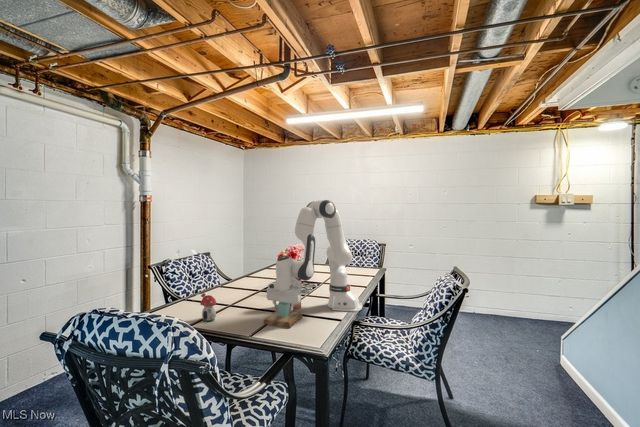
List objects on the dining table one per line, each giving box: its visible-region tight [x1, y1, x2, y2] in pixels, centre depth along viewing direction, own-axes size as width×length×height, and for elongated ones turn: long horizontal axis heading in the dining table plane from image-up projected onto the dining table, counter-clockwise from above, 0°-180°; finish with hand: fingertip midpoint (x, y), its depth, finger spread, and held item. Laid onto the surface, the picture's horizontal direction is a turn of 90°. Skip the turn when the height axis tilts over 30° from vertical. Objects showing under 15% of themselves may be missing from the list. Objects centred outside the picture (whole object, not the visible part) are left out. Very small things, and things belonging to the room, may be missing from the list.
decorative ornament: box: [199, 293, 217, 323], centre depth 171 cm, size 9×6×15 cm
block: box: [277, 302, 290, 317], centre depth 171 cm, size 5×5×7 cm
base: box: [263, 309, 303, 329], centre depth 171 cm, size 16×16×3 cm
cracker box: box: [278, 277, 302, 309], centre depth 192 cm, size 14×6×21 cm, turn 95°
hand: (283, 309), depth 170 cm, fingers open, 8 cm apart
